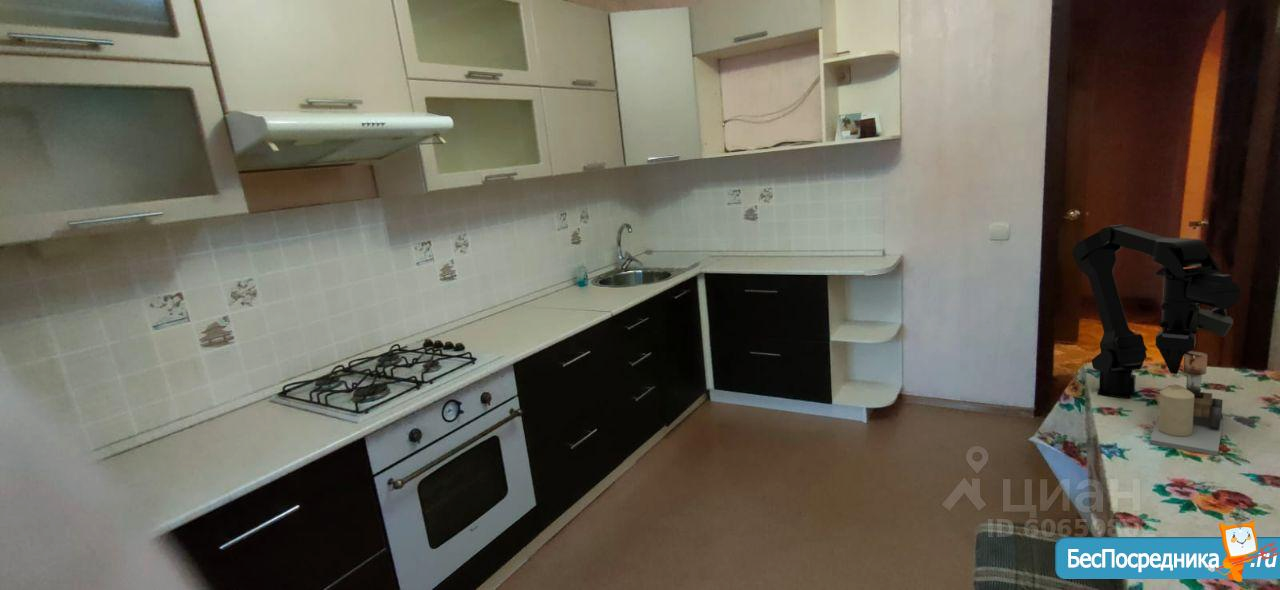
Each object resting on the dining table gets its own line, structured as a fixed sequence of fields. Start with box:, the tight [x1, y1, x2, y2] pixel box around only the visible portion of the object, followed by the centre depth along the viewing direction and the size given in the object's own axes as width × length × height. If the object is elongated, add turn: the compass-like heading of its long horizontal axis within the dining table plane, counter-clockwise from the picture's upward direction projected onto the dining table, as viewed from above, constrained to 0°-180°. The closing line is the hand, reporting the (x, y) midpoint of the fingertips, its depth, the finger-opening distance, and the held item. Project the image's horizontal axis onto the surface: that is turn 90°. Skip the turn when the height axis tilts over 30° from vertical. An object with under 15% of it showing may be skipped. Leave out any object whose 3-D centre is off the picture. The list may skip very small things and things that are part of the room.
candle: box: [1158, 384, 1194, 436], centre depth 132 cm, size 6×6×10 cm
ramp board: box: [1149, 412, 1224, 457], centre depth 133 cm, size 10×18×2 cm, turn 135°
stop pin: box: [1182, 350, 1208, 396], centre depth 135 cm, size 4×4×9 cm
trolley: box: [1193, 391, 1224, 429], centre depth 136 cm, size 9×9×5 cm
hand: (1175, 366), depth 138 cm, fingers open, 9 cm apart
